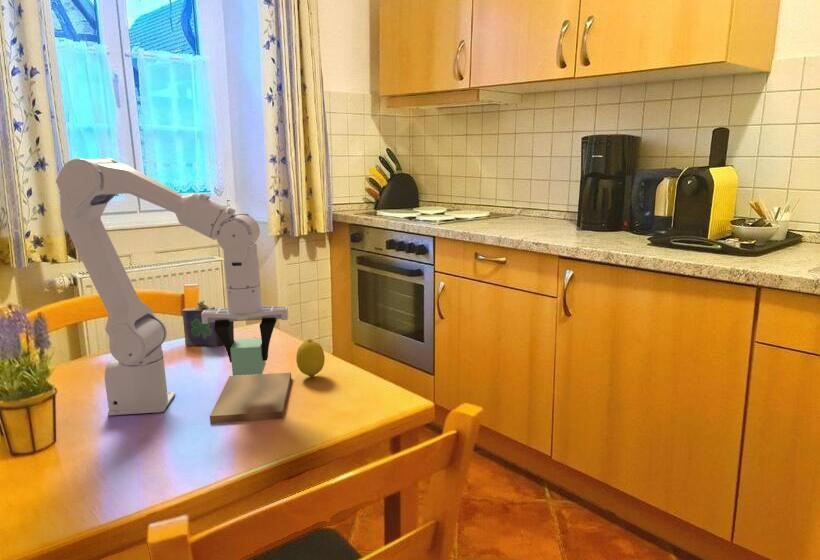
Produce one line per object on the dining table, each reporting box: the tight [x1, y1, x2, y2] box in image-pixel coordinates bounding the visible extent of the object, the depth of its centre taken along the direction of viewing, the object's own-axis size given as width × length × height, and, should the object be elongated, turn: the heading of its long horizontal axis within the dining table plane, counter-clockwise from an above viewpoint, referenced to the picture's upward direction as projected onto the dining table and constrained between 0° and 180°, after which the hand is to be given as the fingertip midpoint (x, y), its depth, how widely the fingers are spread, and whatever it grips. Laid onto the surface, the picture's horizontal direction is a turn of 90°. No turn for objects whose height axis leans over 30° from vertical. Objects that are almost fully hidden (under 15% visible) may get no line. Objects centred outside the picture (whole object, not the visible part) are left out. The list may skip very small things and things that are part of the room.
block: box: [230, 337, 267, 376], centre depth 105 cm, size 5×5×5 cm
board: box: [209, 372, 292, 424], centre depth 109 cm, size 12×18×1 cm, turn 6°
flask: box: [181, 300, 225, 348], centre depth 138 cm, size 9×3×11 cm, turn 84°
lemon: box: [295, 338, 326, 378], centre depth 118 cm, size 6×6×8 cm
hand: (249, 359), depth 105 cm, fingers closed on block, 5 cm apart
